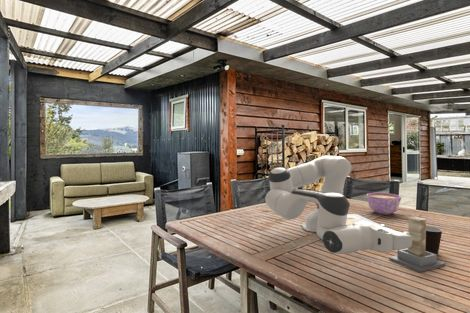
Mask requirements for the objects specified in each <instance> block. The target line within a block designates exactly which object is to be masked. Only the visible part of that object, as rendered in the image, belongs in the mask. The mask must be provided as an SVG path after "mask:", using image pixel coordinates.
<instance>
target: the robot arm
mask: <svg viewBox="0 0 470 313" xmlns="http://www.w3.org/2000/svg"><path fill="white" fill-rule="evenodd" d="M351 172H352V164H351V161H349V160H348V159H347V158H345V157H344V156H339V155H322V156H319V157H318V158H315V159H313V160H311V161H308V162H305V163H302V164H298V165H295V166H292V167H290V168H286V167H284V166H283V167H281V166H279V167H274V168H273V169H271V170H270V171H269V172H268V181H269V189H270V190H269V191H268V192H266V195H265V198H264V200H265V205H266V206H267V207H268V208H269V209H270V210H271V211H272V212H274V213H275V214H277V215H278V216H280V217H281V218H283V219H284V220H285V219H286V220H295V219H297V218H298V217H301V215H302V214H303V212H304V211H305V208H306V205H307V203H308V202H312V203H314V204H315V205H316V209H314V210H313V211H311V212H310V213H308V214H307V216H306V219H305V222H302V224H301V228H302V229H303V230H304V231H307V232H312V233H314V232H315V233H316V236H317V238H318V239H319V240H320V241H321V242H322V243H323V246H324V247H325V249H327V251H328V252H330V253H331V254H338V255H339V254H340V255H344V254H345V255H347V254H352V253H356V252H359V251H366V250H368V251H376V252H381V253H386V254H391V253H392V252H393V251H398V250H402V249H406V248H410V247H411V246H412V236H411V235H410V233H409V232H408V231H399V230H398V231H397V230H395V229H392V228H388V227H387V225H385V224H377V223H374V222H370V221H368V220H359V221H354V222H353V223H352V224H347V219H348V215H349V210H350V206H351V204H350V201H349V200H348V198H347V197H346V196H345V195H344V187H345V183H346V179H347V177H348V176H349V175H350V174H351ZM323 178H325V179H324V181H323V184H322V185H321V188H320V190H319V191H318V190H314V189H305V188H301V187H304V186H307V185H311V184H314V183H316V182H317V181H318V180H321V179H323Z"/></svg>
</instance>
